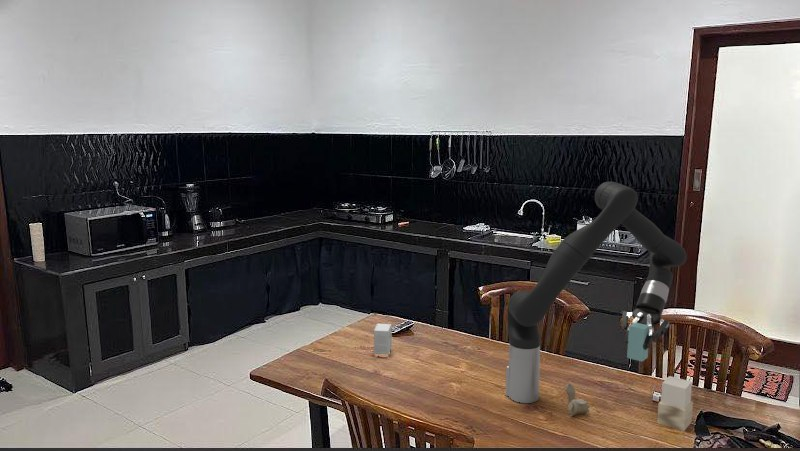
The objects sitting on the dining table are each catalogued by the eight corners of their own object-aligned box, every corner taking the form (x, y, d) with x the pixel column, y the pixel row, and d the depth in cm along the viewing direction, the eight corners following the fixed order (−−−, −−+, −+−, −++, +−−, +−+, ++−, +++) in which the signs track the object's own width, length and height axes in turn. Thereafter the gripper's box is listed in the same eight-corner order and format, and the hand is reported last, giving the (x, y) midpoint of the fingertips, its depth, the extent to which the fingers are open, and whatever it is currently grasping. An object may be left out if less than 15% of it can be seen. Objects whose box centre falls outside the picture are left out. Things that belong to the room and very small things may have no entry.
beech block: (657, 423, 159) (658, 403, 158) (665, 414, 164) (666, 394, 163) (683, 431, 154) (685, 410, 153) (691, 421, 159) (693, 401, 158)
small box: (377, 349, 217) (377, 323, 215) (392, 350, 216) (391, 323, 214) (373, 357, 209) (373, 330, 207) (388, 358, 208) (388, 330, 206)
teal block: (626, 357, 170) (629, 325, 168) (632, 353, 173) (634, 322, 172) (642, 361, 167) (644, 329, 165) (647, 357, 170) (649, 325, 169)
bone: (592, 417, 159) (574, 385, 160) (571, 425, 161) (553, 394, 162) (593, 406, 167) (576, 375, 168) (573, 414, 169) (557, 384, 170)
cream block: (660, 403, 158) (662, 382, 157) (667, 395, 162) (669, 375, 161) (684, 409, 154) (685, 388, 153) (690, 401, 158) (692, 381, 157)
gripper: (626, 287, 177) (609, 334, 170) (675, 296, 168) (658, 346, 161) (632, 300, 182) (615, 346, 175) (679, 309, 173) (663, 358, 166)
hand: (635, 346), depth 168 cm, fingers closed on teal block, 4 cm apart
